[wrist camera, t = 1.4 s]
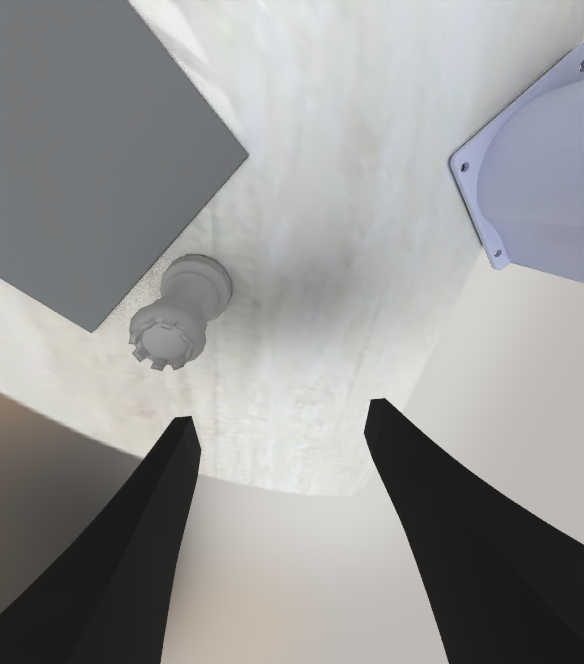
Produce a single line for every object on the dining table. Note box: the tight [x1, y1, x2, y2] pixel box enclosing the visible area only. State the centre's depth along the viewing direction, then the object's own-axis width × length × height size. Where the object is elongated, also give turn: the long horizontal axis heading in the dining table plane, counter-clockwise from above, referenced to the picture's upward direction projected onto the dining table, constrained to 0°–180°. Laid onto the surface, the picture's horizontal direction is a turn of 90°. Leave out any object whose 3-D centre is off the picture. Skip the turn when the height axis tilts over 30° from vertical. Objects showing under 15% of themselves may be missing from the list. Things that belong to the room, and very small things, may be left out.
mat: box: [0, 0, 249, 333], centre depth 13 cm, size 14×16×1 cm
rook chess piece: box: [129, 255, 232, 371], centre depth 14 cm, size 4×4×8 cm
